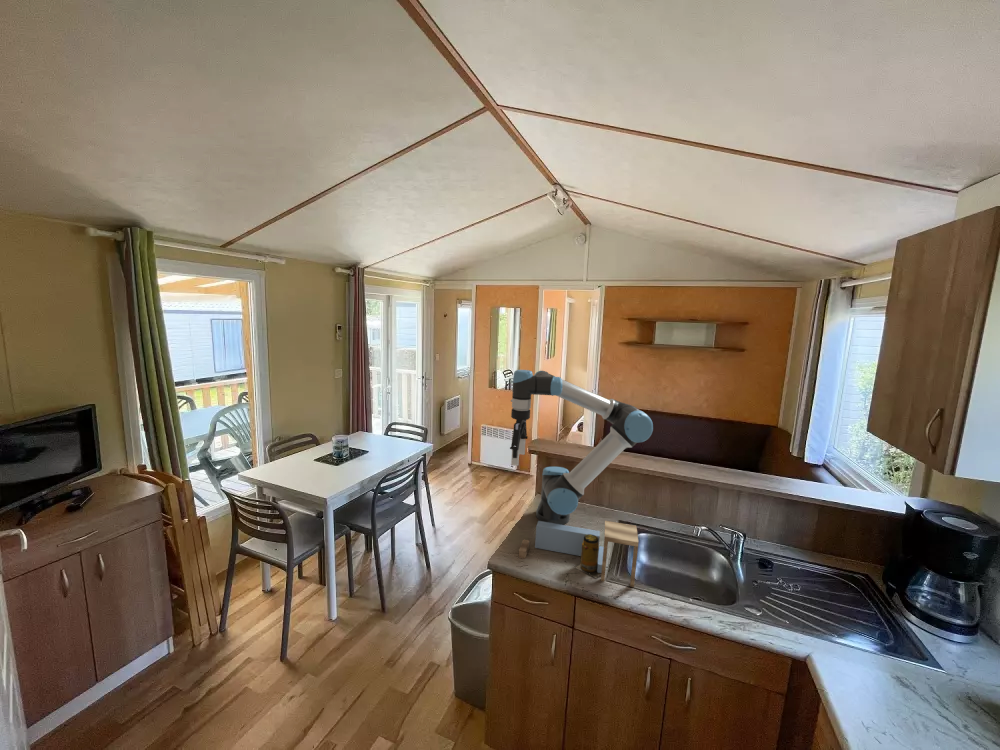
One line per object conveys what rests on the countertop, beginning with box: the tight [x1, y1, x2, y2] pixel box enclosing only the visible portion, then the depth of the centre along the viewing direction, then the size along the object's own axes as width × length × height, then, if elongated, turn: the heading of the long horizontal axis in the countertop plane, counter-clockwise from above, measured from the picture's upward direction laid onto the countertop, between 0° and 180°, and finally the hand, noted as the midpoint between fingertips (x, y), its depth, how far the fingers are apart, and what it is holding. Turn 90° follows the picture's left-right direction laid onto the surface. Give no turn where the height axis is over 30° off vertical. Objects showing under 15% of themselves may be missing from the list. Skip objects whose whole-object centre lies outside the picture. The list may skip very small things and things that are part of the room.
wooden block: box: [518, 539, 530, 559], centre depth 159 cm, size 8×2×3 cm, turn 166°
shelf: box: [600, 520, 639, 588], centre depth 146 cm, size 12×11×17 cm
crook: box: [534, 520, 604, 573], centre depth 156 cm, size 14×26×9 cm, turn 75°
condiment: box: [575, 534, 601, 579], centre depth 149 cm, size 7×8×12 cm
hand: (518, 459), depth 168 cm, fingers open, 13 cm apart
